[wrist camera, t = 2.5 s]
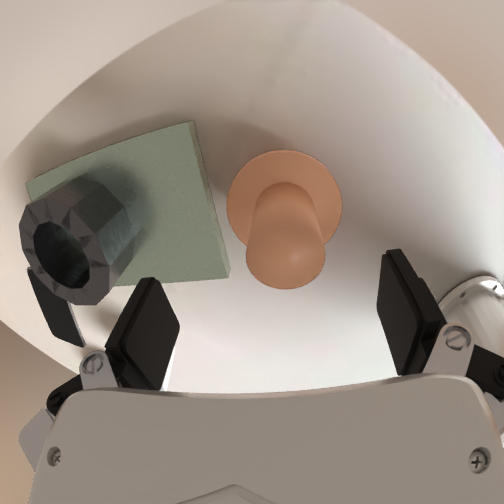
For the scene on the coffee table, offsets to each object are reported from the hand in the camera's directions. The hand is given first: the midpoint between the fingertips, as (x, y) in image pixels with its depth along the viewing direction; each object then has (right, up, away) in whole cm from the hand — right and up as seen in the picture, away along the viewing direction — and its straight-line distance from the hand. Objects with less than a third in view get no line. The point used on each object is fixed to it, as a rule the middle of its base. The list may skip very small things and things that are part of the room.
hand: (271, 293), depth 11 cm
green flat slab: (-14, +5, +14) cm, 20 cm away
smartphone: (-30, -7, +24) cm, 39 cm away
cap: (+2, +7, +11) cm, 13 cm away
